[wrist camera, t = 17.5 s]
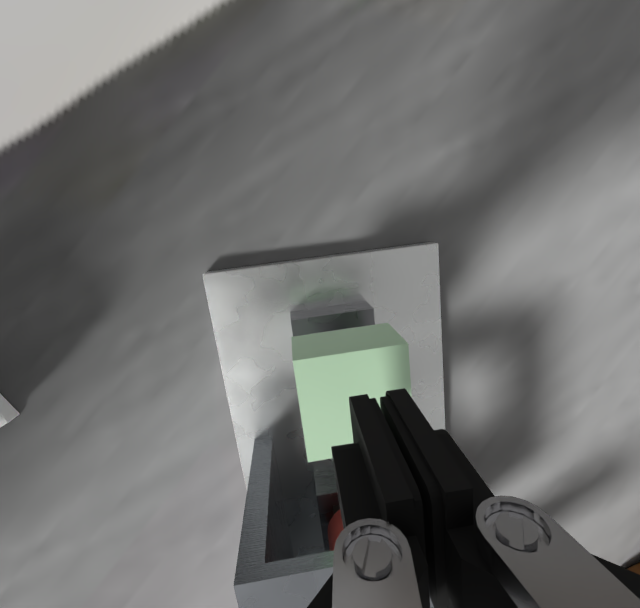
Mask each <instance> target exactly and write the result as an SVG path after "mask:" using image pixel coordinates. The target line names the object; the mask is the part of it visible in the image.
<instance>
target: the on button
mask: <svg viewBox="0 0 640 608" xmlns="http://www.w3.org/2000/svg"><path fill="white" fill-rule="evenodd" d="M291 339H292V360H293V367H294V374H295V380H296V387H297V394H298V400H299V407H300V413H301V420H302V427H303V433H304V440H305V446H306V453H307V460H308V462H313V461H319V460H325V459H331V458H332V450H331V447H332V446H338V445H344V444H351V443H354V442H353V433H352V424H351V415H350V406H349V397H351V396H357V395H364V394H368V396H369V399H370V398H376V400H377V402H378V404H379V406H380V397H383V396H386V391H390V390H396V389H403V388H405V389H406V390H407V392H408V393H409V394H410V396H411V397H412V394H411V378H410V362H409V346H408V343H407V342H406V341H405V340H404V339H403V338H402V337H401V336H400V335H399V334H398V333H397V332H396V331H395V330H394V329H393V328H392V327H391V325H390V324H389V323H382V324H376V325H369V326H362V327H355V328H348V329H342V330H335V331H328V332H321V333H314V334H307V335H301V336H294V337H291ZM380 409H381V408H380Z"/></svg>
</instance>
